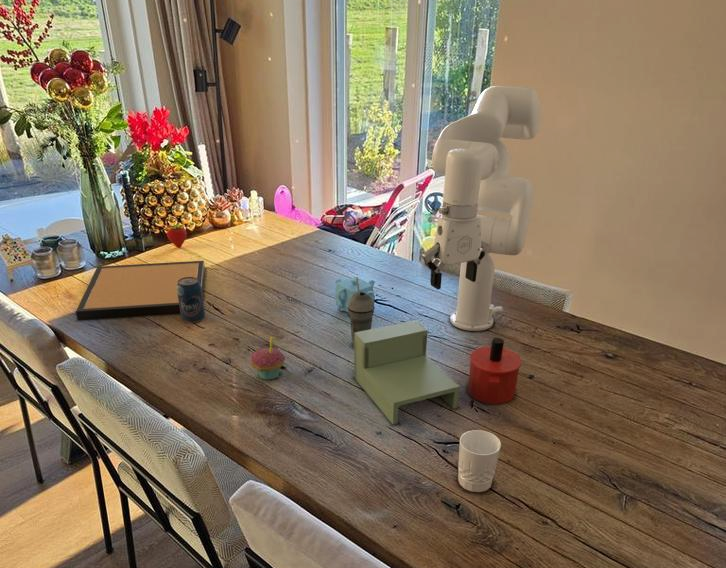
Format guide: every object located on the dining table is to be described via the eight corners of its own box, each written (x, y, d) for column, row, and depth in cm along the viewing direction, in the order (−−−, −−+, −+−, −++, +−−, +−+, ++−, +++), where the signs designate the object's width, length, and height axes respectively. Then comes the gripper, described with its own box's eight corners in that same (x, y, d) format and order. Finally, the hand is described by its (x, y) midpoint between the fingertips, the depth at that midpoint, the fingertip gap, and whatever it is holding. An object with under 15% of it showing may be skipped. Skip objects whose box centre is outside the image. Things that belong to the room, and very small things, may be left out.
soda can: (184, 325, 183) (177, 287, 177) (179, 315, 189) (173, 278, 182) (207, 321, 186) (202, 283, 179) (202, 311, 191) (197, 274, 185)
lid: (520, 353, 155) (523, 331, 151) (521, 379, 145) (525, 355, 141) (470, 348, 157) (472, 326, 153) (467, 373, 147) (470, 350, 143)
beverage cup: (371, 353, 170) (372, 284, 160) (345, 350, 172) (344, 281, 161) (376, 340, 176) (377, 273, 166) (350, 337, 178) (350, 271, 167)
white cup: (451, 469, 130) (455, 430, 124) (489, 467, 130) (495, 429, 125) (459, 495, 123) (464, 455, 118) (499, 493, 124) (505, 453, 118)
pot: (514, 375, 161) (518, 346, 156) (514, 412, 147) (520, 381, 143) (469, 371, 163) (472, 342, 158) (465, 407, 149) (469, 376, 144)
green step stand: (457, 407, 149) (462, 360, 142) (392, 424, 143) (394, 376, 136) (413, 364, 166) (416, 319, 158) (354, 377, 160) (354, 332, 153)
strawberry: (166, 247, 237) (161, 221, 232) (184, 243, 241) (180, 217, 236) (173, 252, 233) (169, 225, 228) (191, 247, 237) (188, 221, 232)
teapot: (321, 306, 195) (320, 275, 190) (356, 294, 202) (356, 264, 197) (357, 326, 183) (357, 295, 178) (393, 313, 191) (394, 282, 185)
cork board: (200, 312, 191) (205, 268, 220) (199, 303, 189) (203, 260, 219) (77, 320, 186) (99, 274, 215) (75, 311, 184) (97, 266, 213)
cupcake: (291, 369, 163) (288, 328, 156) (276, 386, 156) (273, 344, 149) (261, 364, 165) (257, 323, 158) (245, 380, 158) (241, 338, 152)
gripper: (435, 220, 130) (430, 296, 139) (502, 209, 136) (493, 282, 146) (416, 210, 135) (412, 284, 144) (481, 200, 142) (474, 271, 151)
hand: (453, 283), depth 145 cm, fingers open, 9 cm apart
